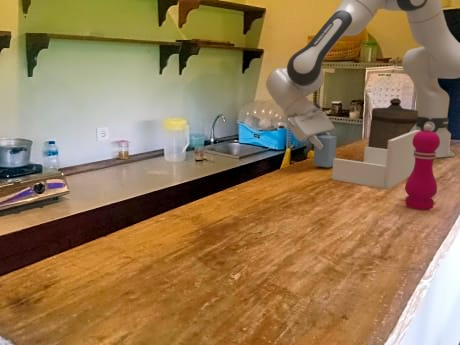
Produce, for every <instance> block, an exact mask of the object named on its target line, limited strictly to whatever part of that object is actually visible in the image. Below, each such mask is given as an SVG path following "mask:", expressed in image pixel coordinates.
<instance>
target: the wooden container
mask: <svg viewBox="0 0 460 345" xmlns="http://www.w3.org/2000/svg"><path fill="white" fill-rule="evenodd" d="M389 103H390V105H389V106H388V107H375V108H372V111H371V120H370V128H369V137H368V145H367V147H373V148H380V149H387V148H388V140H391V139H393V138H396V137H399V136H401V135H404V134H407V133H409V132H412V131H415V130H416V123H417V117H418V111H416V109H410V108H403V107H402V106H401V103H402V101H401V99H400V98H397V97H396V98H395V97H394V98H392V99H390V101H389Z"/></svg>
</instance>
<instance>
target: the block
mask: <svg viewBox="0 0 460 345" xmlns="http://www.w3.org/2000/svg"><path fill="white" fill-rule="evenodd" d="M317 139H318V140H319V141H320V142H323V144H324V145H325V147H324V148H323V149H321V150H319V149H318V148H317V146H315V145H314V144H313V148H314V149H313V166H317V167H322V168H330V167H333V159H334V158H336V157H337V156H336V154H337V153H336V152H337V142H338V141H337V139H338V137H337V136H335V135H330V136H327V135H320V136H317Z"/></svg>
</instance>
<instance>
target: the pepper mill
mask: <svg viewBox="0 0 460 345" xmlns="http://www.w3.org/2000/svg"><path fill="white" fill-rule="evenodd" d="M431 129H432V127H431V125H429V124H426V125H425V126H424V130H425V131H420V132H418V133H417V134H415V136H414V138H413V146H414V147H415V150H414V155H413V156H414V157H415V165H414V169H413V171H412V173H411V175H410V176H409V177H408V178H407V179H406V182H405V185H404V190H405V192H406V194H407V195H408V196H406V197H405V206H406V207H407V208H410V209H414V210H421V211H422V210H423V211H425V210H426V211H427V210H430V209H432V208H433V207H434V206H433V205H434V199H433V197H435V196H436V195H437V193H438V192H437V191H438V184H437V183H438V182H437V181H436V180H437V179H436V178H435V176H434V173H433V172H434V170H433V165H434V164H433V163H434V159H436V158H437V157H436V152H435V150H436V149H437V148H438V147H439V145H440V138H439V136H438V135H437V134H436V133H435V132H432V131H431Z"/></svg>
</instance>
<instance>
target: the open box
mask: <svg viewBox="0 0 460 345" xmlns="http://www.w3.org/2000/svg"><path fill="white" fill-rule="evenodd" d="M418 132H420V130H415V131H412V132H409V133H407V134H404V135H401V136H399V137H396V138H393V139H391V140H388V148H387V149H380V148H373V147H368V146H365V147H364V153H363V161H358V160H350V159H345V158H344V159H343V158H336V157H335V158H334V159H333V166H332V172H331V173H332V175H331V180H333V181H340V182H344V183H349V184H356V185H362V186H367V187H372V188H379V189H384V190H389V189H391V188H393V187H395V186H396V185H398V184H400V183H401V182H403V181H404V180H407V179H408V178H409V176H410V175H411V173H412V171H413V169H414V165H415V157H414V156H413V155H414V150H415V147H414V146H413V138H414V136H415V134H417V133H418Z"/></svg>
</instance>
